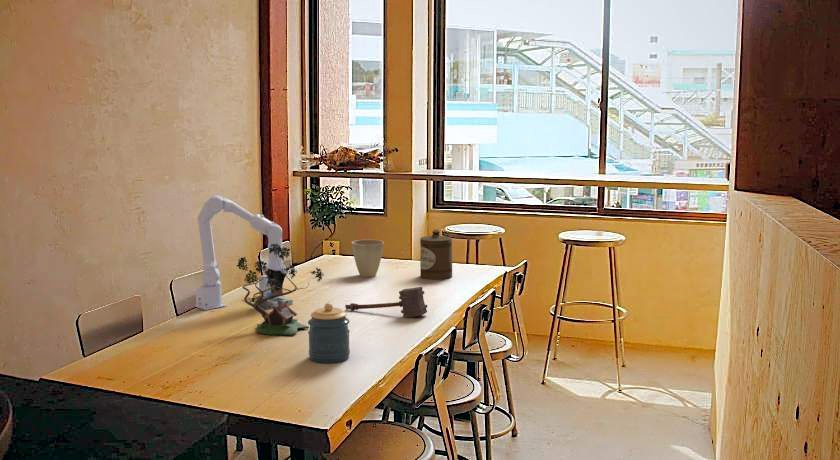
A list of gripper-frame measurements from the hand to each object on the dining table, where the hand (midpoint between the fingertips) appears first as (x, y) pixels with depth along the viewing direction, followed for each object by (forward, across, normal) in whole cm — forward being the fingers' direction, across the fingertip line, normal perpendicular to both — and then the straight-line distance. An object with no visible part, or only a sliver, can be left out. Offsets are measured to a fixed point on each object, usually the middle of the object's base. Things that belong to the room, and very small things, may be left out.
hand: (276, 288), depth 340 cm
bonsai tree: (+7, -38, +22) cm, 45 cm away
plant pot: (+7, +20, -64) cm, 67 cm away
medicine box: (+7, +16, -8) cm, 19 cm away
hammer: (+7, -41, -22) cm, 47 cm away
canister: (+7, -72, +28) cm, 78 cm away
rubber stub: (+6, -2, +8) cm, 11 cm away
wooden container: (+7, -4, -86) cm, 86 cm away
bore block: (+6, 0, 0) cm, 6 cm away
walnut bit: (+2, 0, 0) cm, 2 cm away
